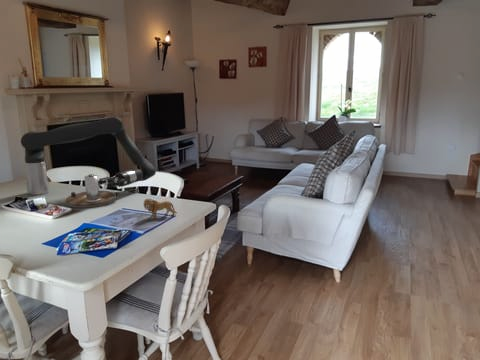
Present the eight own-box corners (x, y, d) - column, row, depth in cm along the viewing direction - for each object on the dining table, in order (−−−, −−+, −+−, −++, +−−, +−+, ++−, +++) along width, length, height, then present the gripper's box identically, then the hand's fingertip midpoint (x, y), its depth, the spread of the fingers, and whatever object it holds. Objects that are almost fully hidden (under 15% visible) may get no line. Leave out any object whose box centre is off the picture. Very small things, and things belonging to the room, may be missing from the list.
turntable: (56, 205, 175) (56, 199, 174) (79, 192, 198) (79, 186, 197) (103, 206, 174) (103, 199, 173) (121, 193, 196) (121, 187, 196)
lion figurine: (146, 220, 158) (144, 200, 156) (142, 217, 162) (141, 197, 160) (178, 215, 165) (178, 196, 163) (174, 212, 169) (174, 193, 167)
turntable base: (55, 207, 175) (55, 205, 175) (79, 194, 198) (79, 192, 198) (104, 208, 174) (104, 206, 173) (123, 194, 197) (123, 193, 197)
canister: (83, 202, 176) (80, 176, 173) (89, 198, 183) (87, 173, 180) (97, 202, 176) (94, 176, 173) (103, 198, 183) (100, 173, 179)
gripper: (115, 170, 199) (91, 175, 185) (135, 172, 193) (111, 179, 179) (116, 183, 201) (92, 190, 187) (136, 186, 195) (112, 193, 181)
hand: (101, 184), depth 183 cm, fingers open, 8 cm apart
